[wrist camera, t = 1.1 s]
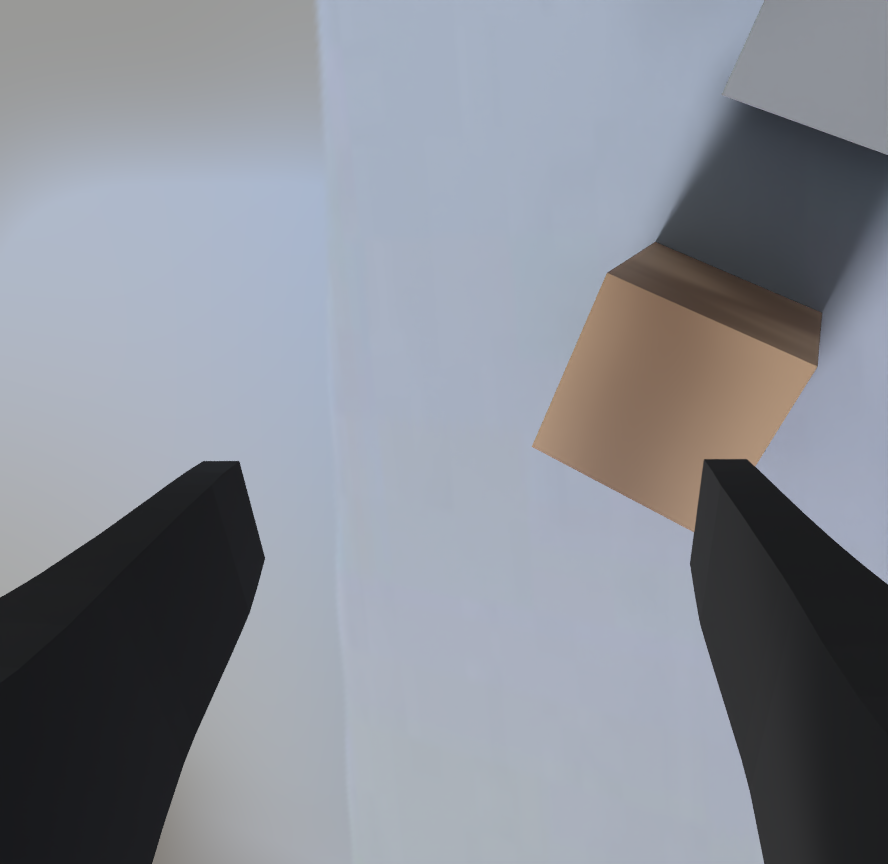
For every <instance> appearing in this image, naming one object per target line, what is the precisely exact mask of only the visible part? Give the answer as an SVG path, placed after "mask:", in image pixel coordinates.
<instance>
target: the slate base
mask: <svg viewBox="0 0 888 864" xmlns="http://www.w3.org/2000/svg"><path fill="white" fill-rule="evenodd" d="M722 95H723V96H726V97H728V98H731V99H734V100H737V101H739V102H742V103H745V104H748V105H751V106H753V107H756V108H759V109H762V110H764V111H767V112H770V113H773V114H775V115H778V116H781V117H784V118H787V119H789V120H792V121H795V122H798V123H800V124H803V125H806V126H809V127H811V128H814V129H817V130H820V131H823V132H825V133H828V134H831V135H834V136H836V137H839V138H842V139H845V140H847V141H850V142H853V143H856V144H859V145H861V146H864V147H867V148H870V149H872V150H875V151H878V152H881V153H883V154H886V155H888V0H765V1H764V3H763V5H762V7H761V9H760V11H759V14H758V16H757V18H756V20H755V22H754V25H753V27H752V29H751V31H750V33H749V36H748V38H747V40H746V42H745V44H744V47H743V49H742V51H741V53H740V55H739V58H738V60H737V62H736V64H735V66H734V68H733V71H732V73H731V75H730V77H729V79H728V82H727V84H726V86H725V88H724V90H723V93H722Z"/></svg>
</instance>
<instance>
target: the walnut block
mask: <svg viewBox="0 0 888 864" xmlns="http://www.w3.org/2000/svg"><path fill="white" fill-rule="evenodd" d="M821 320H822V313H821V312H819V311H816V310H814V309H812V308H809V307H807V306H805V305H802V304H800V303H798V302H795V301H793V300H791V299H788V298H786V297H783V296H781V295H779V294H776V293H774V292H772V291H769V290H767V289H765V288H762V287H760V286H758V285H755V284H753V283H751V282H748V281H746V280H743V279H741V278H739V277H736V276H734V275H732V274H729V273H727V272H725V271H722V270H720V269H718V268H715V267H713V266H711V265H708V264H706V263H704V262H701V261H699V260H696V259H694V258H692V257H689V256H687V255H685V254H682V253H680V252H678V251H675V250H673V249H671V248H668V247H666V246H664V245H661V244H659V243H657V242H654V243H653V244H651V245H650V246H648V247H647V248H645V249H643V250H642V251H640V252H639V253H637V254H636V255H634V256H633V257H631V258H629V259H628V260H626V261H625V262H623V263H622V264H620V265H619V266H617V267H615V268H614V269H612V270H611V271H609V272H608V273H607V274H606V277H605V279H604V281H603V283H602V286H601V288H600V290H599V293H598V295H597V297H596V300H595V302H594V304H593V307H592V309H591V311H590V314H589V316H588V318H587V320H586V323H585V325H584V327H583V330H582V332H581V334H580V337H579V339H578V341H577V344H576V346H575V348H574V351H573V353H572V355H571V358H570V360H569V362H568V364H567V367H566V369H565V371H564V374H563V376H562V378H561V381H560V383H559V385H558V388H557V390H556V392H555V395H554V397H553V399H552V401H551V404H550V406H549V408H548V411H547V413H546V415H545V418H544V420H543V422H542V425H541V427H540V429H539V432H538V434H537V436H536V438H535V441H534V443H533V445H532V447H533V448H535V449H537V450H539V451H541V452H543V453H545V454H547V455H549V456H550V457H552V458H554V459H556V460H558V461H560V462H562V463H564V464H566V465H568V466H569V467H571V468H573V469H575V470H577V471H579V472H581V473H583V474H585V475H587V476H588V477H590V478H592V479H594V480H596V481H598V482H600V483H602V484H604V485H605V486H607V487H609V488H611V489H613V490H615V491H617V492H619V493H621V494H623V495H624V496H626V497H628V498H630V499H632V500H634V501H636V502H638V503H640V504H642V505H643V506H645V507H647V508H649V509H651V510H653V511H655V512H657V513H659V514H660V515H662V516H664V517H666V518H668V519H670V520H672V521H674V522H676V523H678V524H679V525H681V526H683V527H685V528H687V529H689V530H691V531H693V532H694V530H695V522H696V515H697V507H698V500H699V492H700V484H701V477H702V469H703V461H704V459H747V460H748V461H750V462H751V463H752V464H753V465H754V466H756V464H757V462H758V461H759V459H760V458H761V456H762V454H763V453H764V451H765V450H766V448H767V446H768V445H769V443H770V442H771V440H772V438H773V437H774V435H775V434H776V432H777V430H778V429H779V427H780V426H781V424H782V422H783V421H784V419H785V418H786V416H787V414H788V413H789V411H790V410H791V408H792V406H793V405H794V403H795V402H796V400H797V398H798V397H799V395H800V394H801V392H802V390H803V389H804V387H805V386H806V384H807V382H808V381H809V379H810V378H811V376H812V374H813V373H814V371H815V370H816V368H817V366H818V354H819V343H820V331H821Z"/></svg>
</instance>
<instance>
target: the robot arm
mask: <svg viewBox="0 0 888 864" xmlns="http://www.w3.org/2000/svg"><path fill="white" fill-rule="evenodd" d="M264 560H265V557H264V553H263V549H262V545H261V541H260V538H259V534H258V530H257V526H256V523H255V519H254V515H253V511H252V508H251V504H250V500H249V496H248V493H247V489H246V485H245V481H244V478H243V474H242V470H241V466H240V462H239V461H203V462H201V463H200V464H198V465H197V466H195V467H193V468H192V469H190V470H189V471H187V472H186V473H184V474H183V475H181V476H180V477H178V478H177V479H176V480H174V481H173V482H171V483H170V484H168V485H167V486H166V487H164V488H163V489H162V490H160V491H159V492H157V493H156V494H155V495H153V496H152V497H151V498H150V499H148V500H147V501H145V502H144V503H142V504H141V505H140V506H138V507H137V508H135V509H134V510H133V511H131V512H130V513H129V514H127V515H126V516H124V517H123V518H122V519H120V520H119V521H117V522H116V523H115V524H113V525H112V526H110V527H109V528H108V529H106V530H105V531H104V532H102V533H101V534H99V535H98V536H96V537H95V538H93V539H92V540H90V541H89V542H87V543H86V544H84V545H83V546H81V547H80V548H78V549H77V550H75V551H74V552H72V553H71V554H69V555H68V556H66V557H65V558H63V559H62V560H60V561H59V562H57V563H56V564H54V565H53V566H51V567H50V568H48V569H47V570H45V571H44V572H42V573H41V574H39V575H37V576H36V577H34V578H32V579H31V580H29V581H28V582H26V583H25V584H23V585H21V586H19V587H18V588H16V589H14V590H13V591H11V592H9V593H8V594H6V595H4V596H2V597H0V864H152V862H153V858H154V855H155V852H156V849H157V845H158V842H159V839H160V835H161V832H162V828H163V825H164V822H165V819H166V816H167V813H168V810H169V807H170V804H171V801H172V798H173V795H174V792H175V789H176V786H177V783H178V780H179V777H180V774H181V771H182V768H183V765H184V762H185V759H186V757H187V754H188V752H189V749H190V747H191V744H192V741H193V739H194V737H195V734H196V732H197V730H198V728H199V726H200V723H201V721H202V719H203V716H204V714H205V712H206V710H207V707H208V705H209V703H210V701H211V699H212V697H213V694H214V692H215V690H216V688H217V686H218V683H219V681H220V679H221V677H222V674H223V672H224V670H225V668H226V665H227V663H228V661H229V659H230V657H231V654H232V652H233V650H234V647H235V645H236V643H237V641H238V638H239V636H240V634H241V632H242V629H243V627H244V625H245V622H246V620H247V617H248V615H249V613H250V609H251V606H252V602H253V600H254V596H255V593H256V590H257V586H258V582H259V579H260V575H261V571H262V567H263V564H264ZM690 566H691V573H692V579H693V585H694V592H695V598H696V603H697V609H698V615H699V620H700V625H701V628H702V632H703V635H704V638H705V642H706V645H707V648H708V652H709V655H710V658H711V662H712V665H713V668H714V672H715V675H716V678H717V681H718V685H719V688H720V691H721V694H722V697H723V701H724V704H725V707H726V710H727V714H728V717H729V720H730V723H731V727H732V730H733V733H734V736H735V740H736V743H737V746H738V749H739V753H740V756H741V759H742V763H743V767H744V770H745V774H746V778H747V782H748V786H749V790H750V794H751V799H752V804H753V809H754V814H755V819H756V824H757V829H758V834H759V839H760V844H761V849H762V854H763V859H764V864H888V584H886V583H885V582H884V581H883V580H881V579H880V578H879V577H878V576H876V575H875V574H874V573H872V572H871V571H870V570H869V569H867V568H866V567H865V566H864V565H862V564H861V563H860V562H859V561H858V560H856V559H855V558H854V557H853V556H852V555H850V554H849V553H848V552H847V551H846V550H845V549H843V548H842V547H841V546H840V545H839V544H838V543H836V542H835V541H834V540H833V539H832V538H831V537H830V536H828V535H827V534H826V533H825V532H824V531H823V530H822V529H821V528H819V527H818V526H817V525H816V524H815V523H814V522H813V521H812V520H811V519H810V518H809V517H807V516H806V515H805V514H804V513H803V512H802V511H801V510H800V509H799V508H798V507H797V506H796V505H795V504H794V503H792V502H791V501H790V500H789V499H788V498H787V497H786V496H785V495H784V494H783V493H782V492H781V491H780V490H779V489H778V488H777V487H776V486H775V485H774V484H773V483H772V482H771V481H770V480H768V479H767V478H766V477H765V476H764V475H763V474H762V473H761V472H760V471H759V470H758V469H757V468H756V467H755V466H754V465H753V464H752V463H751V462H750V461H748V460H747V459H704V461H703V469H702V477H701V484H700V492H699V500H698V507H697V515H696V522H695V530H694V538H693V545H692V553H691V561H690Z"/></svg>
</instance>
